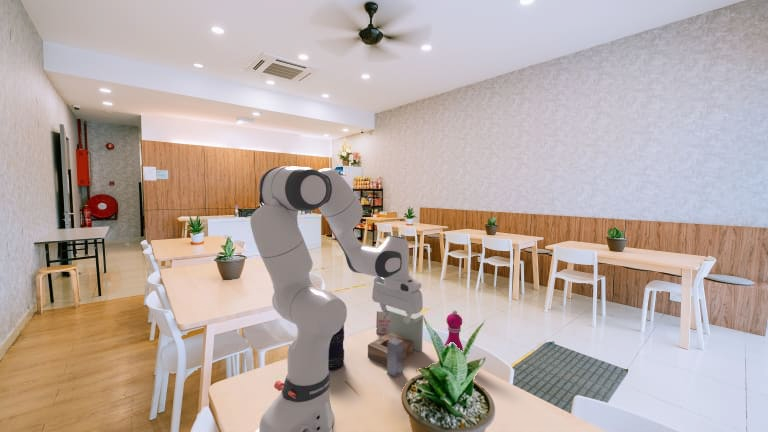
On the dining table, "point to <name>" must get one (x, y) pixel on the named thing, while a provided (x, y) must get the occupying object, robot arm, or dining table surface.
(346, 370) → the dining table surface
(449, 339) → the pepper mill
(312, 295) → the robot arm
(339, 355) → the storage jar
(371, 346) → the socket
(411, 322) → the pale green stepped block
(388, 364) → the peg
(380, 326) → the tea bag
